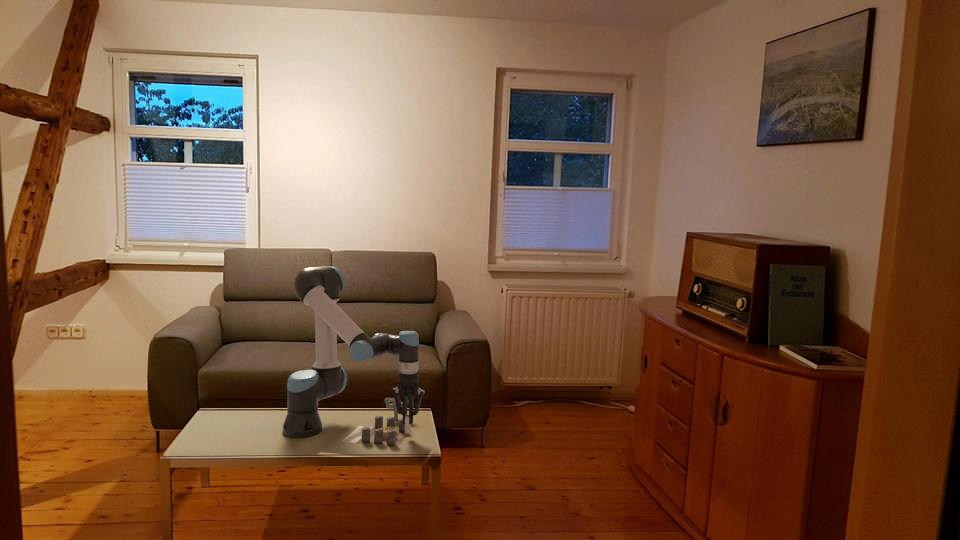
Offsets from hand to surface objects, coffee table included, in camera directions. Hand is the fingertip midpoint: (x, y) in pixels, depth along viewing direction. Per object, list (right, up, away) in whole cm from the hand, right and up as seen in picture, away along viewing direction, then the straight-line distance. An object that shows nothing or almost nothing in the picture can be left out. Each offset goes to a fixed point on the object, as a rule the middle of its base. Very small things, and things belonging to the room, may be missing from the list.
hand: (407, 432), depth 234 cm
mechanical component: (-8, -2, +22) cm, 23 cm away
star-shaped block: (-8, -2, +2) cm, 9 cm away
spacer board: (-12, -3, +3) cm, 13 cm away
